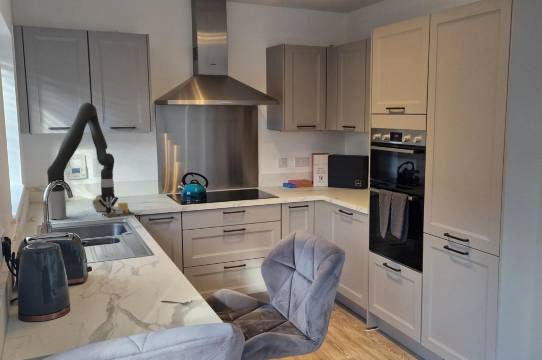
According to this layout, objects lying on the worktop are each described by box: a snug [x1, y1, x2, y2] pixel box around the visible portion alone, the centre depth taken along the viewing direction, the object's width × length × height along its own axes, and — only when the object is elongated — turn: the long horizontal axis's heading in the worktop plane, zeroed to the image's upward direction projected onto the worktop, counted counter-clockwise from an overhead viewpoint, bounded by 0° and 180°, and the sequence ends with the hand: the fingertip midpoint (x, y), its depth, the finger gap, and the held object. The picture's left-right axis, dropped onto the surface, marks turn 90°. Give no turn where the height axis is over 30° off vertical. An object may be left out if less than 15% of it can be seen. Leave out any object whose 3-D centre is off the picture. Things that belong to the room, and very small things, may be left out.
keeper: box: [111, 206, 123, 214], centre depth 316 cm, size 4×10×3 cm, turn 39°
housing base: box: [101, 208, 134, 219], centre depth 317 cm, size 16×10×3 cm, turn 129°
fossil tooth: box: [91, 193, 115, 213], centre depth 327 cm, size 12×6×15 cm
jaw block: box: [117, 201, 129, 213], centre depth 318 cm, size 5×5×6 cm
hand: (108, 213), depth 313 cm, fingers closed
